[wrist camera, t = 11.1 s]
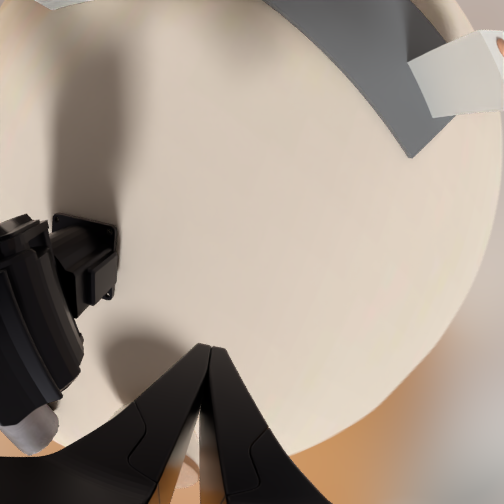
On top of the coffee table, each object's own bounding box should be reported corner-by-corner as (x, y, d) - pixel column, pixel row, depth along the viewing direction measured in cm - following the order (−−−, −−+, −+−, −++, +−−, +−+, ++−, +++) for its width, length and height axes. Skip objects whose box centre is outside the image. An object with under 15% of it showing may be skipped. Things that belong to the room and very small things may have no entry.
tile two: (432, 118, 17) (515, 110, 8) (407, 62, 15) (480, 28, 7) (460, 108, 16) (537, 101, 8) (437, 56, 15) (508, 30, 6)
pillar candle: (-18, 343, 24) (36, 417, 28) (-50, 379, 14) (17, 458, 19) (11, 333, 24) (72, 415, 29) (-27, 376, 15) (54, 464, 19)
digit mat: (190, -44, 12) (189, -48, 12) (287, -84, 10) (288, -87, 9) (408, 158, 18) (412, 158, 18) (474, 92, 16) (478, 91, 16)
